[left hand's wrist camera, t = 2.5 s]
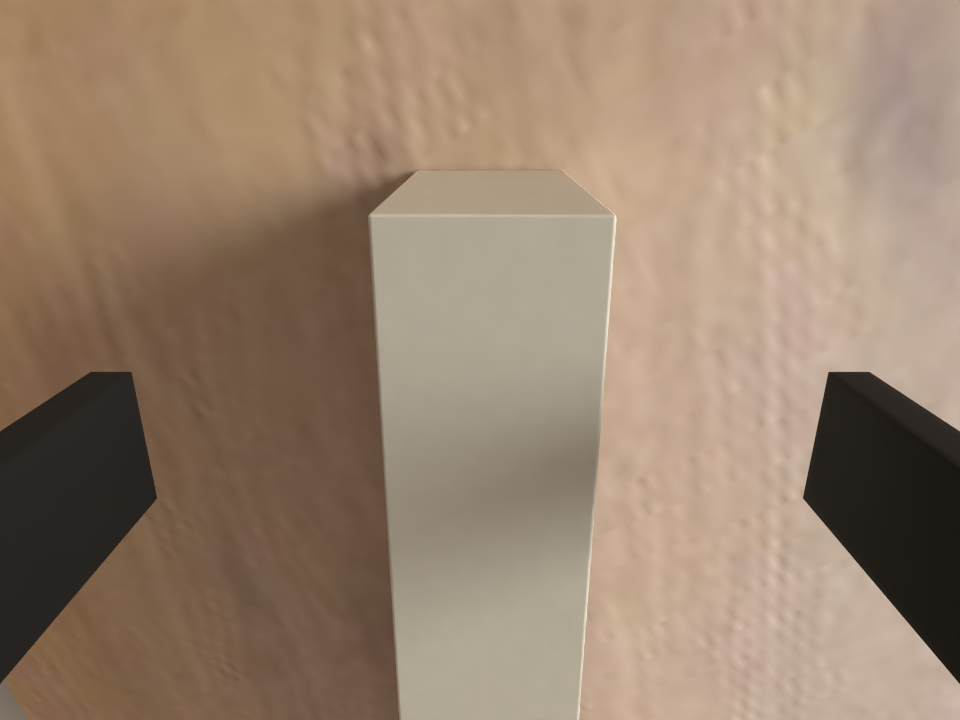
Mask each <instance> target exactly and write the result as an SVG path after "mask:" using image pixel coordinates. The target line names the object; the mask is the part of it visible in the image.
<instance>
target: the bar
mask: <svg viewBox="0 0 960 720" xmlns="http://www.w3.org/2000/svg"><path fill="white" fill-rule="evenodd" d="M368 228H369V244H370V260H371V276H372V292H373V308H374V324H375V341H376V357H377V373H378V389H379V405H380V421H381V437H382V454H383V470H384V486H385V502H386V518H387V534H388V551H389V567H390V583H391V599H392V615H393V631H394V647H395V664H396V680H397V696H398V712H399V720H579V709H580V695H581V682H582V669H583V655H584V642H585V629H586V616H587V602H588V589H589V576H590V563H591V549H592V536H593V523H594V509H595V496H596V483H597V470H598V456H599V443H600V430H601V417H602V403H603V390H604V377H605V363H606V350H607V337H608V324H609V310H610V297H611V284H612V270H613V257H614V244H615V231H616V215H615V214H614V213H613V212H611V211H610V210H609V209H608V208H607V207H605V206H604V205H603V204H602V203H601V202H599V201H598V200H597V199H596V198H595V197H593V196H592V195H591V194H590V193H589V192H587V191H586V190H585V189H584V188H583V187H581V186H580V185H579V184H578V183H577V182H575V181H574V180H573V179H572V178H571V177H569V176H568V175H567V174H566V173H565V172H563V171H416V172H415V173H414V174H413V175H412V176H411V177H410V178H408V179H407V180H406V181H405V182H404V183H403V184H402V185H401V186H400V187H399V188H398V189H396V190H395V191H394V192H393V193H392V194H391V195H390V196H389V197H388V198H387V199H385V200H384V201H383V202H382V203H381V204H380V205H379V206H378V207H377V208H376V209H375V210H373V211H372V212H371V213H370V214H369V216H368Z"/></svg>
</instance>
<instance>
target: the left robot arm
mask: <svg viewBox="0 0 960 720" xmlns="http://www.w3.org/2000/svg"><path fill="white" fill-rule="evenodd" d="M156 499H157V496H156V491H155V486H154V481H153V476H152V471H151V466H150V461H149V457H148V452H147V447H146V442H145V437H144V432H143V427H142V422H141V417H140V412H139V407H138V402H137V397H136V393H135V388H134V383H133V378H132V373H131V372H90V373H88V374H87V375H85V376H84V377H82V378H81V379H79V380H78V381H76V382H75V383H73V384H72V385H70V386H69V387H67V388H66V389H64V390H63V391H61V392H60V393H58V394H57V395H55V396H54V397H52V398H50V399H49V400H47V401H46V402H44V403H43V404H41V405H40V406H38V407H37V408H35V409H34V410H32V411H31V412H29V413H28V414H26V415H25V416H23V417H22V418H20V419H19V420H17V421H16V422H14V423H12V424H11V425H9V426H8V427H6V428H5V429H3V430H2V431H0V683H1V682H2V681H3V680H4V679H5V677H6V676H7V675H8V674H9V673H10V672H11V670H12V669H13V668H14V667H15V666H16V664H17V663H18V662H19V661H20V660H21V659H22V657H23V656H24V655H25V654H26V653H27V651H28V650H29V649H30V648H31V647H32V646H33V644H34V643H35V642H36V641H37V640H38V638H39V637H40V636H41V635H42V634H43V633H44V631H45V630H46V629H47V628H48V627H49V625H50V624H51V623H52V622H53V621H54V619H55V618H56V617H57V616H58V615H59V614H60V612H61V611H62V610H63V609H64V608H65V606H66V605H67V604H68V603H69V602H70V601H71V599H72V598H73V597H74V596H75V595H76V593H77V592H78V591H79V590H80V589H81V588H82V586H83V585H84V584H85V583H86V582H87V580H88V579H89V578H90V577H91V576H92V575H93V573H94V572H95V571H96V570H97V569H98V567H99V566H100V565H101V564H102V563H103V562H104V560H105V559H106V558H107V557H108V556H109V554H110V553H111V552H112V551H113V550H114V548H115V547H116V546H117V545H118V544H119V543H120V541H121V540H122V539H123V538H124V537H125V535H126V534H127V533H128V532H129V531H130V530H131V528H132V527H133V526H134V525H135V524H136V522H137V521H138V520H139V519H140V518H141V517H142V515H143V514H144V513H145V512H146V511H147V509H148V508H149V507H150V506H151V505H152V504H153V502H154V501H155V500H156ZM803 499H804V500H805V501H806V502H807V504H808V505H809V506H810V507H811V508H812V509H813V511H814V512H815V513H816V514H817V515H818V517H819V518H820V519H821V520H822V521H823V522H824V524H825V525H826V526H827V527H828V528H829V530H830V531H831V532H832V533H833V534H834V535H835V537H836V538H837V539H838V540H839V541H840V543H841V544H842V545H843V546H844V547H845V548H846V550H847V551H848V552H849V553H850V554H851V556H852V557H853V558H854V559H855V560H856V562H857V563H858V564H859V565H860V566H861V567H862V569H863V570H864V571H865V572H866V573H867V575H868V576H869V577H870V578H871V579H872V580H873V582H874V583H875V584H876V585H877V586H878V588H879V589H880V590H881V591H882V592H883V593H884V595H885V596H886V597H887V598H888V599H889V601H890V602H891V603H892V604H893V605H894V606H895V608H896V609H897V610H898V611H899V612H900V614H901V615H902V616H903V617H904V618H905V620H906V621H907V622H908V623H909V624H910V625H911V627H912V628H913V629H914V630H915V631H916V633H917V634H918V635H919V636H920V637H921V638H922V640H923V641H924V642H925V643H926V644H927V646H928V647H929V648H930V649H931V650H932V651H933V653H934V654H935V655H936V656H937V657H938V659H939V660H940V661H941V662H942V663H943V664H944V666H945V667H946V668H947V669H948V670H949V672H950V673H951V674H952V675H953V676H954V677H955V679H956V680H957V681H958V682H959V683H960V431H958V430H957V429H955V428H954V427H952V426H951V425H949V424H948V423H946V422H944V421H943V420H941V419H940V418H938V417H937V416H935V415H934V414H932V413H931V412H929V411H928V410H926V409H925V408H923V407H922V406H920V405H919V404H917V403H916V402H914V401H913V400H911V399H910V398H908V397H906V396H905V395H903V394H902V393H900V392H899V391H897V390H896V389H894V388H893V387H891V386H890V385H888V384H887V383H885V382H884V381H882V380H881V379H879V378H878V377H876V376H875V375H873V374H872V373H870V372H829V373H828V378H827V383H826V388H825V393H824V397H823V402H822V407H821V412H820V417H819V422H818V427H817V432H816V437H815V442H814V447H813V452H812V457H811V461H810V466H809V471H808V476H807V481H806V486H805V491H804V496H803Z"/></svg>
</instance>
